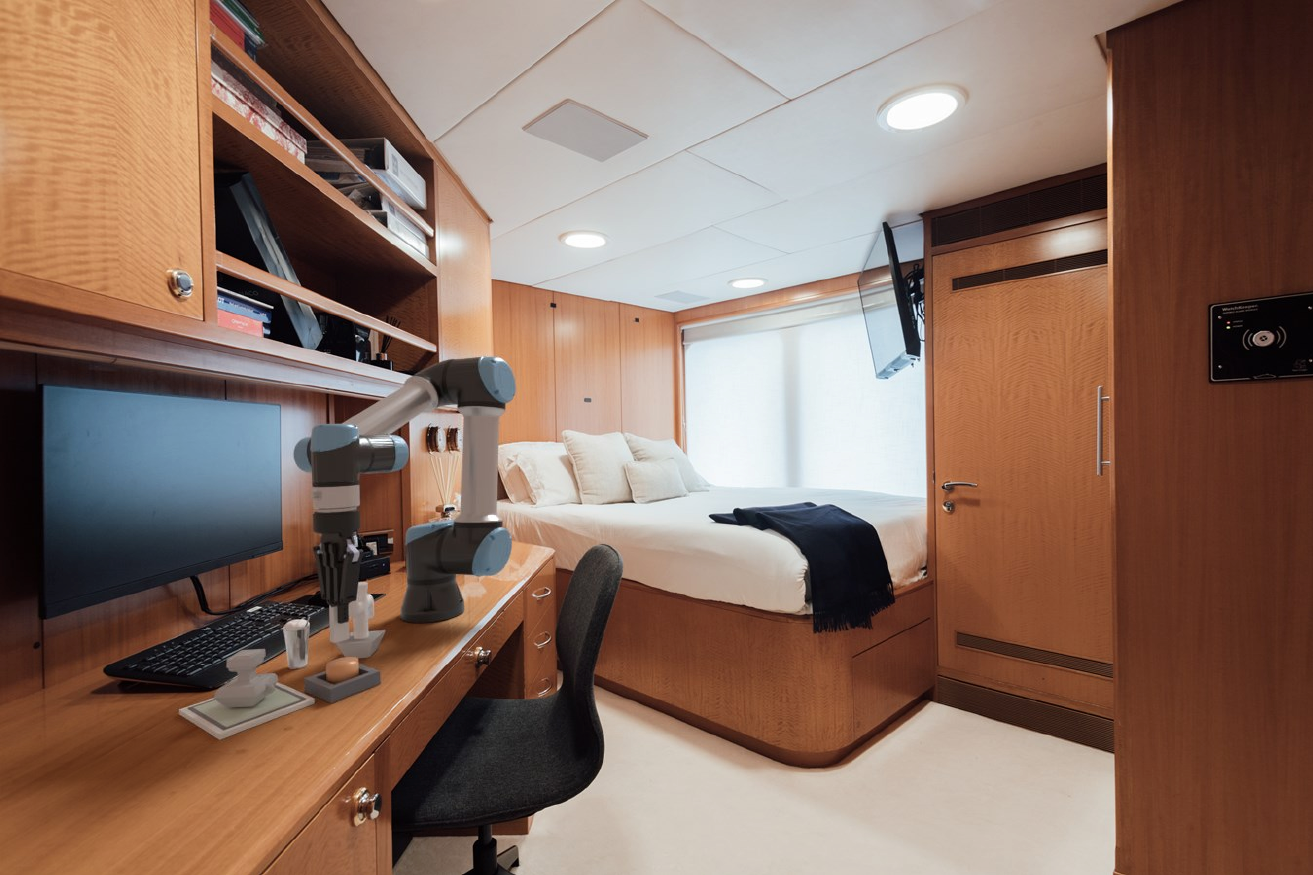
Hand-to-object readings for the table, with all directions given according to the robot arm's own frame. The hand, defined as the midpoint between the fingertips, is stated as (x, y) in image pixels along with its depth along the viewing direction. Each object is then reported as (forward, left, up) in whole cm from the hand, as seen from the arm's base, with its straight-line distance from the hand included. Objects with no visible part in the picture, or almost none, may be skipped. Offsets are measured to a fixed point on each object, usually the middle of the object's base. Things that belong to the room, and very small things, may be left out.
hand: (339, 639), depth 108 cm
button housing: (0, 0, -9) cm, 9 cm away
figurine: (-11, -13, -9) cm, 20 cm away
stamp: (+13, -6, -8) cm, 16 cm away
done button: (0, 0, -7) cm, 7 cm away
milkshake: (-1, -18, -9) cm, 20 cm away
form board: (+13, -6, -9) cm, 17 cm away
